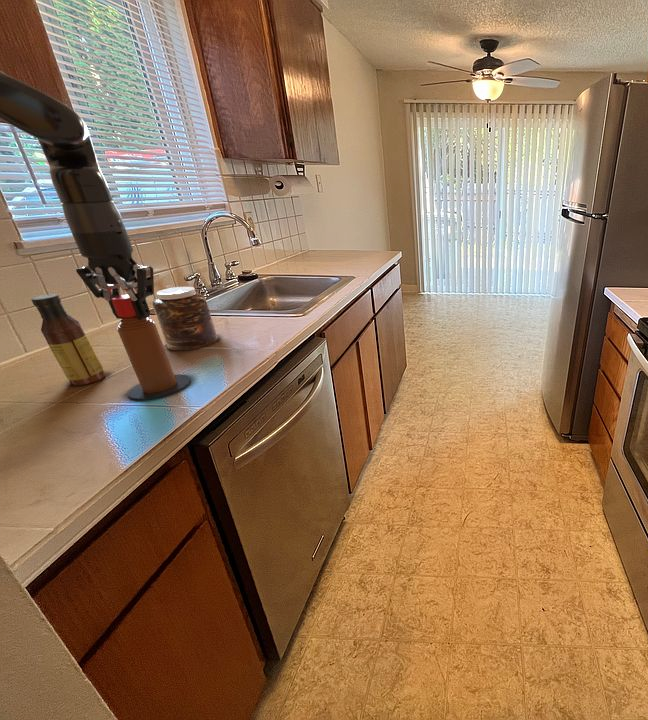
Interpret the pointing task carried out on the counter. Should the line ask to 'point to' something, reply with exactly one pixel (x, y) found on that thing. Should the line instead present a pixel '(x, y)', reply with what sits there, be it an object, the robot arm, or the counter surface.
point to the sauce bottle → (68, 342)
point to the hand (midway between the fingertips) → (133, 317)
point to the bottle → (146, 354)
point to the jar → (184, 318)
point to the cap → (123, 306)
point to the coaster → (182, 383)
